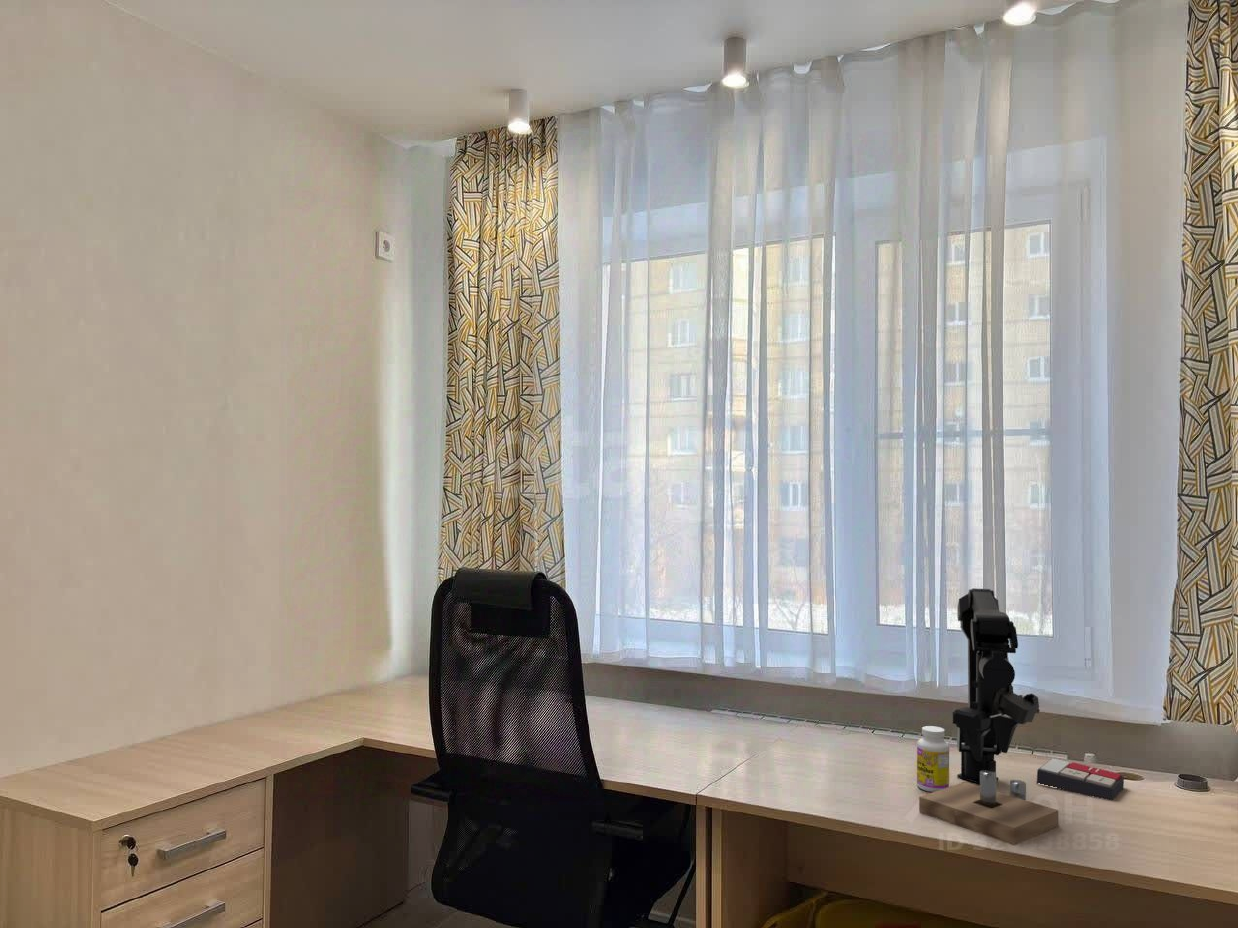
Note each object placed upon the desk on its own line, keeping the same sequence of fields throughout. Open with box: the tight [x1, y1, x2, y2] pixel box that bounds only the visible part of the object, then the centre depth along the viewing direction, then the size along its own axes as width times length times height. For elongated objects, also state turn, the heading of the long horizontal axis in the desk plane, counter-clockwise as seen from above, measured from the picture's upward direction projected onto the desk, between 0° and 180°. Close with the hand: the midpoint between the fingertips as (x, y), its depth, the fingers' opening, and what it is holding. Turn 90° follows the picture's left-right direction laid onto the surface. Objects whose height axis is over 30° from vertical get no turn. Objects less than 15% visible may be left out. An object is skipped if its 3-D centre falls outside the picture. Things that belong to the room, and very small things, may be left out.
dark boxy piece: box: [1036, 758, 1125, 801], centre depth 196 cm, size 11×4×15 cm
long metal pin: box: [979, 770, 997, 809], centre depth 175 cm, size 3×3×9 cm
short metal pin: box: [1009, 779, 1027, 801], centre depth 184 cm, size 3×3×4 cm
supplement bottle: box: [916, 725, 950, 793], centre depth 193 cm, size 7×7×13 cm
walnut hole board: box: [918, 781, 1060, 845], centre depth 175 cm, size 20×16×3 cm
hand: (991, 756), depth 177 cm, fingers open, 9 cm apart
